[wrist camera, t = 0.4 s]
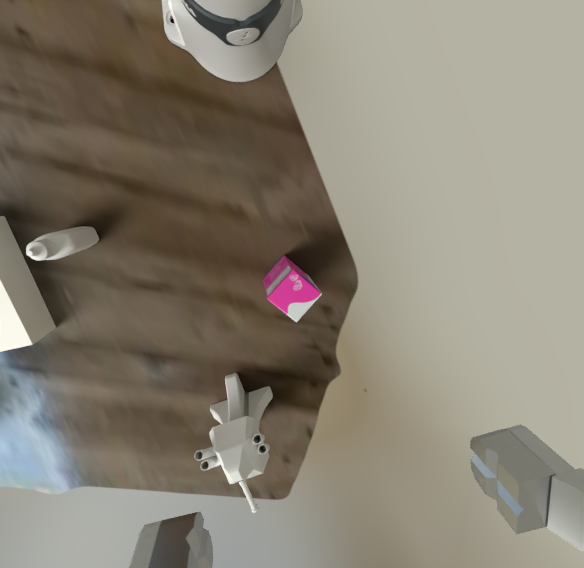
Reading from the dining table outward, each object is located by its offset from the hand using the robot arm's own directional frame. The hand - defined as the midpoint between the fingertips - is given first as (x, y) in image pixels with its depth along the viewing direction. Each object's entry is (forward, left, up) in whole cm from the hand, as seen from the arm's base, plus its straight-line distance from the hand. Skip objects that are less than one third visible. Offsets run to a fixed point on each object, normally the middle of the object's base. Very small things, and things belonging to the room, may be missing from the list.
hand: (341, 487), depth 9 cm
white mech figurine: (+30, -11, -46) cm, 56 cm away
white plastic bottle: (-6, -28, -46) cm, 54 cm away
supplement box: (+7, +2, -46) cm, 46 cm away
